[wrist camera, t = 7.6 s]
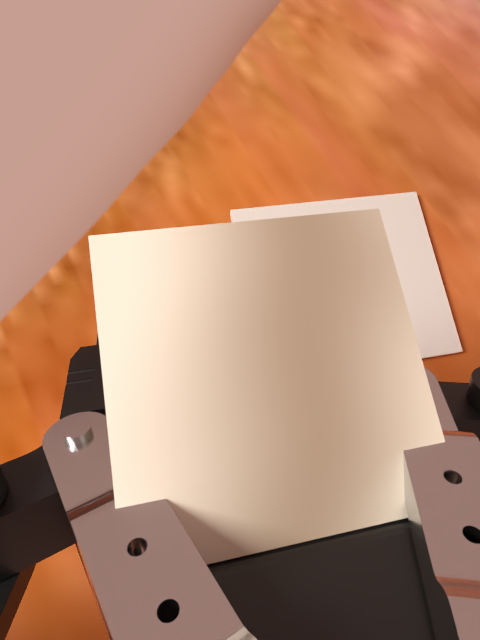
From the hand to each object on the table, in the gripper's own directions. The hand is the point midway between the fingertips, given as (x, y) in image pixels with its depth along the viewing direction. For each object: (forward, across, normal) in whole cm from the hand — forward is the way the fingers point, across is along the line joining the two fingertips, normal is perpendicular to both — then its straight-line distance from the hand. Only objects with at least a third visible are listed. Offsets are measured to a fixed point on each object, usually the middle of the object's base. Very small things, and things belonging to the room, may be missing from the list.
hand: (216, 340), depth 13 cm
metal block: (+2, 0, +4) cm, 5 cm away
